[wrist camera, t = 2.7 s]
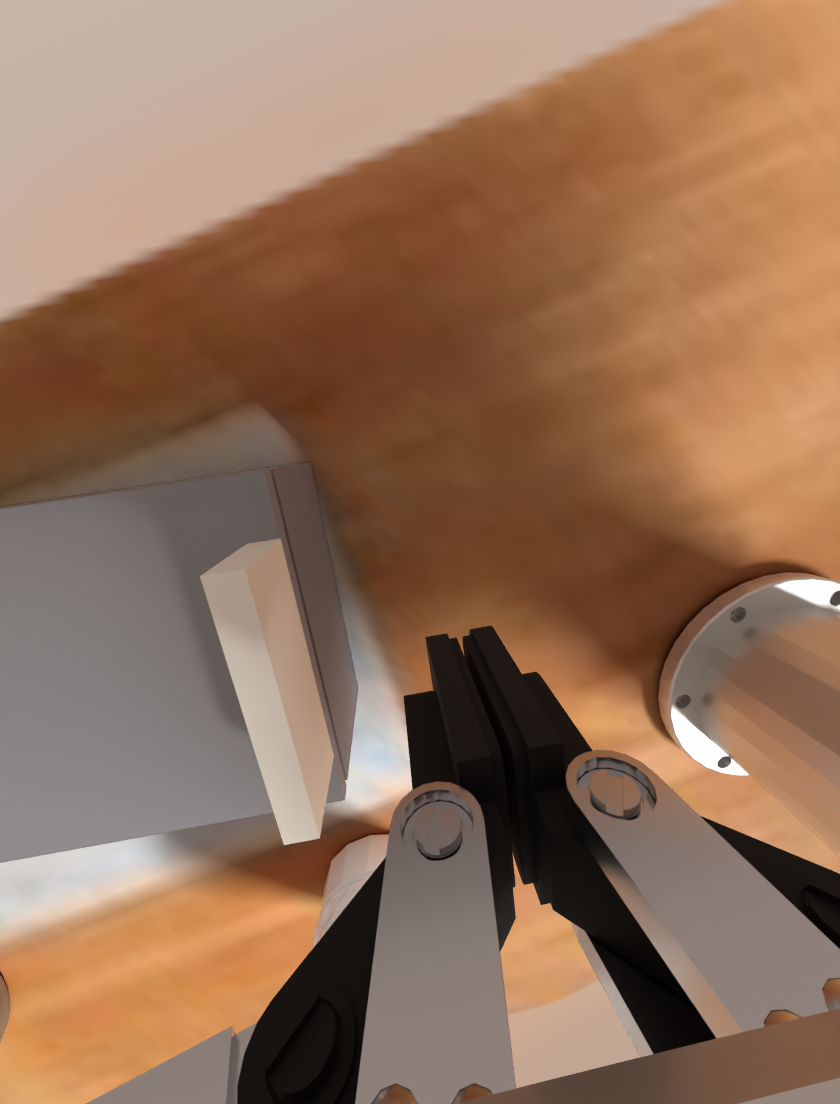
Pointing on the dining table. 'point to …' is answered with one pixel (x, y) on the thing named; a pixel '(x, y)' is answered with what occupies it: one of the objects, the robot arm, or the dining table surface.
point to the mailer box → (309, 591)
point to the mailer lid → (156, 669)
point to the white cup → (348, 878)
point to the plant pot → (3, 1006)
